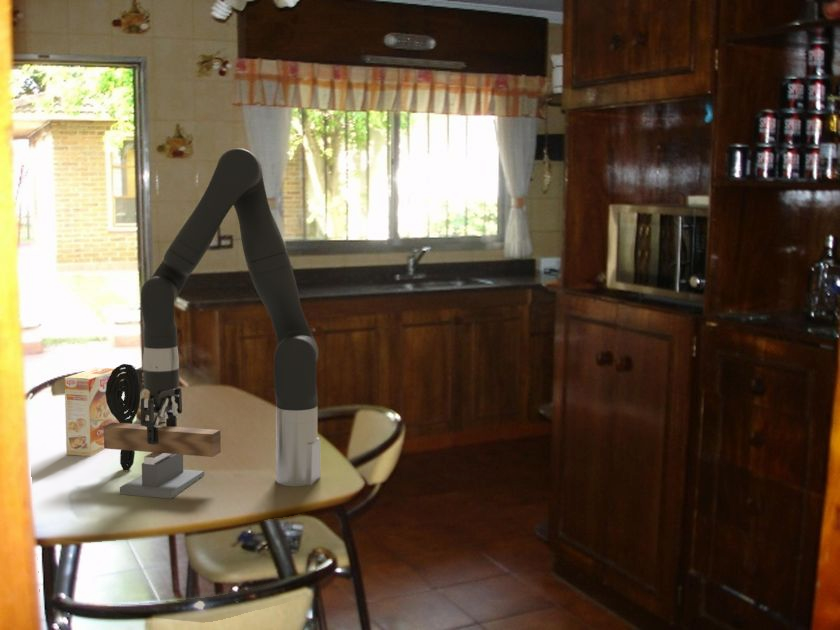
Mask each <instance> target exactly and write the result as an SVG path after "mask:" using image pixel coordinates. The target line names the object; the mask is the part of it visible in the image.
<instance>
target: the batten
mask: <svg viewBox="0 0 840 630" xmlns="http://www.w3.org/2000/svg"><path fill="white" fill-rule="evenodd" d="M221 436H222V435H221V429H210V428H209V429H208V428H207V429H206V428H197V427H196V428H195V427H183V426H177V427H171V426H166V425H158V443H157V444H155V445H154V444H148V442H147V427H145V426H141V423H132V424H129V423H115V422H113V423H111V424H108V425H106V426H104V448H105V449H106V450H118V451H119V450H120V451H121V450H130V451H135V452H147V453H153V452H156V453H168V454H181V455H183V456H184V455H185V456H194V457H195V456H196V457H209V458H213V457H215V456H217V455H218V454H220V453H221V452H222V451H221V448H222V447H221V445H222V443H221ZM105 449H104V450H105Z"/></svg>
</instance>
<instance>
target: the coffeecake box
mask: <svg viewBox="0 0 840 630" xmlns="http://www.w3.org/2000/svg"><path fill="white" fill-rule="evenodd" d="M114 369H115V368H112V367H111V368H108V367H106V368H105V367H93V368H90V369H88V370H85V371H82V372H78V373H75V374H72V375H69V376H65V377H64V400H65V401H64V404H65V405H64V407H65V413H64V414H65V441H66V443H65V444H66V445H65V447H66V449H65V451H66V455H67V456H68V455H69V456H83V457H93V456H94V455H96V454H98V453H99V452H101V451H103V450H105V448H104V426H106V425H108V424H111V423H113V422H115V423H119V421H118V420H117V419H116V418H115V417H114V415H113V414H112V413H111V411H110V409H109V407H108V405H107V401H106V394H105V393H106V385H107V381H108V379H109V377H110V375H111V373H112V371H113V370H114ZM117 377H118V376H117Z"/></svg>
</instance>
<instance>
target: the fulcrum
mask: <svg viewBox="0 0 840 630" xmlns="http://www.w3.org/2000/svg"><path fill="white" fill-rule="evenodd" d="M202 476H203V477H204V476H205V471H204V470H197V469H196V470H194V469H185V468H184V455H181V454H168V453H156V452H150V453H149V454H147V455H145V456H144V457H143V462H142V463H141V475H139V476H138V477H136V478H134V479H132V480H130V481H128V482H127V483H125V484H123V485H121V486H119V495H124V496H125V495H128V496H130V495H131V496H138V497H139V496H140V497H148V498H149V497H151V498H160V499H173V498H174V497H176V496H177V495H179V494H180V493H182V492H183V491H184V490H186V489H188V488H189V487H190V486H191V485H193V484H195V483H196V482H197V481H199V480H200V479H201V478H203V477H202ZM199 478H200V479H199ZM195 481H196V482H195ZM192 483H193V484H192ZM188 486H189V487H188ZM185 488H186V489H185ZM181 491H182V492H181ZM178 493H179V494H178ZM176 494H177V495H176ZM175 495H176V496H175ZM172 497H173V498H172Z"/></svg>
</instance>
